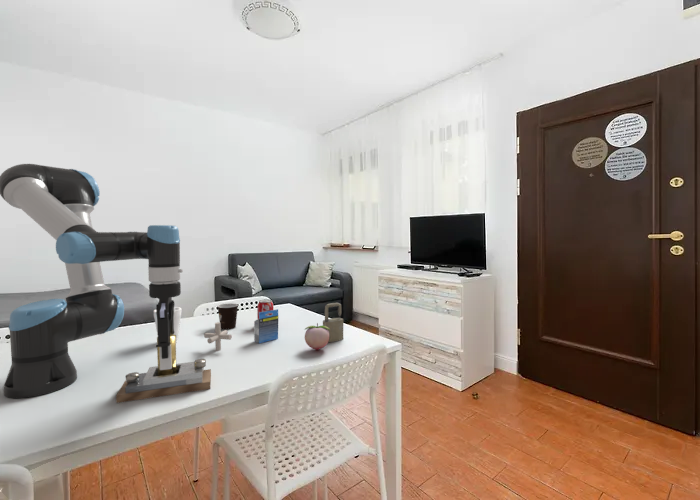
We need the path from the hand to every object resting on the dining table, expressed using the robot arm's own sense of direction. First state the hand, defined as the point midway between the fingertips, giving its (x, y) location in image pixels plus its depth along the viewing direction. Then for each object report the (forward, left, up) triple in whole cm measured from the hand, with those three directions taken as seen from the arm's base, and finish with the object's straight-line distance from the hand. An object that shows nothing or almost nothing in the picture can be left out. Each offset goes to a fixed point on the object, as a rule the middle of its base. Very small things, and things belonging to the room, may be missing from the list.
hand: (167, 365), depth 93 cm
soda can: (+33, +51, -7) cm, 61 cm away
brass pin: (0, 0, -4) cm, 4 cm away
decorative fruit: (+47, +14, -7) cm, 49 cm away
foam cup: (-5, +42, -7) cm, 43 cm away
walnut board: (0, 0, -6) cm, 6 cm away
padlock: (+56, +23, -7) cm, 61 cm away
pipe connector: (+13, +27, -7) cm, 31 cm away
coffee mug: (+17, +54, -7) cm, 57 cm away
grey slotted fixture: (0, 0, -4) cm, 4 cm away
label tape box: (+31, +32, -7) cm, 45 cm away
